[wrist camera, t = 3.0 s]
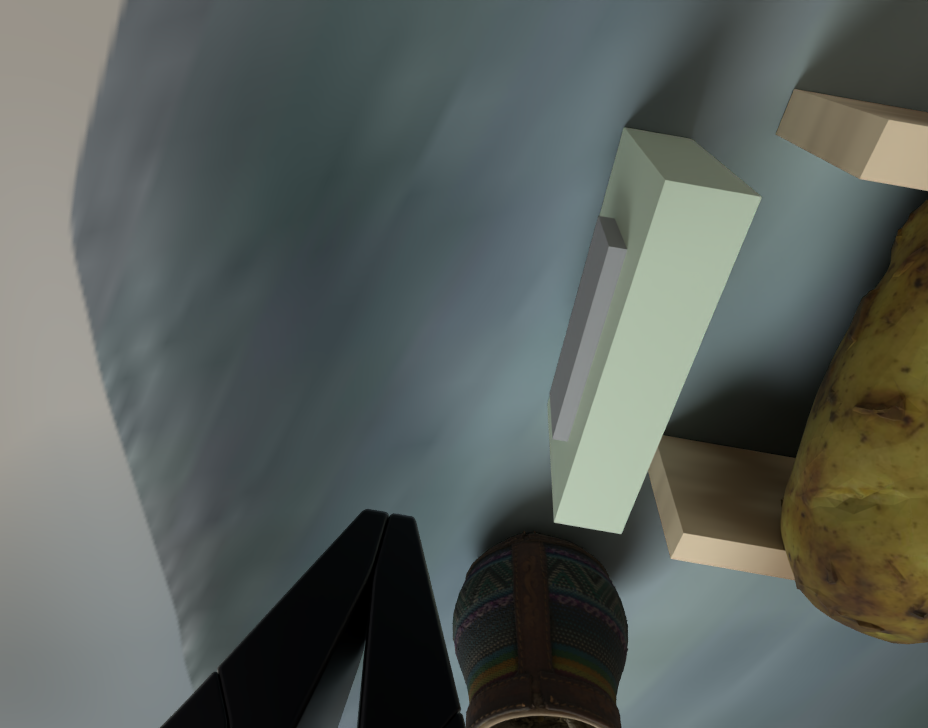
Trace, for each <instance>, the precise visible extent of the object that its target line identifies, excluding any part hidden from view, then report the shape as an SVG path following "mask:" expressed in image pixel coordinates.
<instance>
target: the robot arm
mask: <svg viewBox="0 0 928 728" xmlns="http://www.w3.org/2000/svg"><path fill="white" fill-rule="evenodd" d="M364 647H365V650H364ZM363 651H364V660H363V670H362V680H361V691H360V701H359V711H358V722H357V728H466V727H465V722H464V718H463V715H462V714H461V713H460V711H461V707H460V703H459V698H458V694H457V690H456V686H455V682H454V678H453V673H452V669H451V665H450V661H449V657H448V653H447V648H446V644H445V640H444V636H443V632H442V627H441V623H440V619H439V615H438V611H437V607H436V602H435V598H434V594H433V590H432V586H431V581H430V577H429V573H428V569H427V565H426V561H425V556H424V552H423V548H422V544H421V540H420V536H419V531H418V527H417V523H416V520H415V518H414V517H412V516H406V515H400V514H391V515H390V517H389V514H388V513H387V512H383V511H377V510H371V509H366V510H363V511H362V512H361V513H360V514H359V515H358V516H357V517H356V519H355V520H354V521H353V522H352V523H351V524H350V525H349V526H348V527H347V528H346V529H345V530H344V531H343V533H342V534H341V535H340V536H339V537H338V538H337V539H336V540H335V541H334V542H333V543H332V544H331V546H330V547H329V548H328V549H327V550H326V551H325V552H324V553H323V554H322V555H321V556H320V557H319V558H318V560H317V561H316V562H315V563H314V564H313V565H312V566H311V567H310V568H309V569H308V570H307V571H306V573H305V574H304V575H303V576H302V577H301V578H300V579H299V580H298V581H297V582H296V583H295V584H294V585H293V587H292V588H291V589H290V590H289V591H288V592H287V593H286V594H285V595H284V596H283V597H282V598H281V600H280V601H279V602H278V603H277V604H276V605H275V606H274V607H273V608H272V609H271V610H270V611H269V613H268V614H267V615H266V616H265V617H264V618H263V619H262V620H261V621H260V622H259V623H258V624H257V625H256V627H255V628H254V629H253V630H252V631H251V632H250V633H249V634H248V635H247V636H246V637H245V638H244V640H243V641H242V642H241V643H240V644H239V645H238V646H237V647H236V648H235V649H234V650H233V651H232V652H231V654H230V655H229V656H228V657H227V658H226V659H225V660H224V661H223V662H222V663H221V664H220V665H219V667H218V668H217V672H218V673H217V672H213V673H212V674H211V675H210V676H209V677H208V678H207V679H206V680H205V681H204V682H203V684H202V685H201V686H200V687H199V688H198V689H197V690H196V691H195V692H194V693H193V694H192V695H191V696H190V698H189V699H187V701H186V702H185V703H184V704H183V705H182V706H181V707H180V708H179V709H178V710H177V711H176V712H175V713H174V714H173V715H172V716H171V717H170V718H169V719H168V720H167V721H166V722H165V723H164V724H163V725H162V726H161V727H160V728H338V725H339V722H340V719H341V716H342V713H343V710H344V707H345V704H346V702H347V699H348V696H349V693H350V690H351V687H352V684H353V681H354V678H355V675H356V672H357V669H358V666H359V663H360V660H361V657H362V654H363Z"/></svg>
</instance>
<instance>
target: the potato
mask: <svg viewBox="0 0 928 728" xmlns="http://www.w3.org/2000/svg"><path fill="white" fill-rule="evenodd" d="M781 507H782V511H781V521H780V531H781V537H782V540H783V544H784V547H785V550H786V554H787V558H788V561H789V564H790V567H791V569H792V572H793V575H794V578H795V582H796V586H797V589H800V590H801V591H802V593H803V594H804V595H805V596H806V597H807V598H808V599H809V601H810V602H811V603H812V604H813V605H814V606H815V607H816V608H818V609H819V610H820V611H822V612H823V613H825V614H826V615H827V616H829V617H830V618H832V619H834V620H836V621H838V622H840V623H841V624H843V625H846V626H848V627H850V628H852V629H854V630H857V631H859V632H861V633H864V634H866V635H869V636H872V637H875V638H878V639H881V640H884V641H888V642H891V643H900V644H915V643H924V642H928V199H927V200H926V201H925V202H924V203H923V204H922V205H921V206H920V207H919V208H917V209H916V210H915V211H913V212H912V213H911V214H910V215H909V218H908V220H907V222H906V223H905V224H904V226H903V227H902V228H901V229H899V230H898V233H897V236H896V239H895V241H894V243H893V246H892V248H891V263H890V266H889V268H888V270H887V272H886V273H885V275H884V276H883V278H882V279H881V281H880V282H879V283H878V285H877V286H876V288H875V289H874V290H871V291H869V292H868V294H867V295H866V296H864V297H863V298H862V300H861V302H860V304H859V306H858V308H857V310H856V313H855V315H854V317H853V320H852V323H851V325H850V327H849V328H848V330H847V332H846V334H845V336H844V337H843V339H842V341H841V343H840V345H839V347H838V349H837V351H836V353H835V355H834V357H833V359H832V361H831V363H830V365H829V367H828V370H827V372H826V374H825V376H824V378H823V380H822V383H821V385H820V387H819V389H818V392H817V394H816V397H815V400H814V403H813V406H812V409H811V411H810V414H809V417H808V421H807V424H806V427H805V430H804V434H803V437H802V440H801V443H800V446H799V449H798V453H797V456H796V459H795V462H794V466H793V469H792V472H791V474H790V477H789V480H788V483H787V485H786V489H785V494H784V497H783V500H782V499H781Z"/></svg>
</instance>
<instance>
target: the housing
mask: <svg viewBox="0 0 928 728" xmlns="http://www.w3.org/2000/svg"><path fill="white" fill-rule="evenodd" d="M776 135H778V136H780V137H781V138H783V139H785V140H787V141H789V142H791V143H793V144H795V145H797V146H798V147H800V148H802V149H804V150H806V151H808V152H810V153H812V154H813V155H815V156H817V157H819V158H821V159H823V160H825V161H827V162H828V163H830V164H832V165H834V166H836V167H838V168H840V169H842V170H844V171H845V172H847V173H849V174H851V175H853V176H855V177H857V178H859V179H863V180H868V181H874V182H880V183H885V184H891V185H897V186H903V187H908V188H914V189H920V190H925V191H928V112H923V111H917V110H911V109H906V108H900V107H894V106H889V105H883V104H877V103H872V102H866V101H860V100H854V99H849V98H843V97H837V96H832V95H826V94H820V93H815V92H809V91H803V90H797V89H794V91H793V93H792V95H791V98H790V100H789V103H788V105H787V108H786V110H785V113H784V115H783V118H782V120H781V122H780V125H779V127H778V130H777V132H776ZM795 459H796V458H791V457H785V456H780V455H774V454H768V453H762V452H757V451H751V450H745V449H739V448H734V447H728V446H722V445H716V444H711V443H705V442H699V441H693V440H688V439H682V438H676V437H670V436H665V435H662V438H661V440H660V443H659V445H658V447H657V450H656V452H655V455H654V457H653V459H652V462H651V464H650V467H649V469H648V473H649V477H650V481H651V485H652V489H653V492H654V496H655V500H656V504H657V508H658V512H659V515H660V519H661V523H662V527H663V531H664V535H665V539H666V542H667V546H668V550H669V554H670V558H671V559H675V560H681V561H687V562H693V563H698V564H704V565H710V566H716V567H721V568H727V569H733V570H739V571H745V572H750V573H756V574H762V575H768V576H773V577H779V578H785V579H791V580H795V578H794V575H793V572H792V569H791V567H790V564H789V561H788V558H787V554H786V550H785V547H784V544H783V540H782V537H781V531H780V521H781V511H782V507H781V499H782V500H783V497H784V494H785V489H786V485H787V483H788V480H789V477H790V474H791V472H792V469H793V466H794V462H795Z"/></svg>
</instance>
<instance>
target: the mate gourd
mask: <svg viewBox="0 0 928 728" xmlns="http://www.w3.org/2000/svg"><path fill="white" fill-rule="evenodd" d="M465 579H466V580H465V582H464V584H463V587H462V589H461V591H460V593H459V596H458V599H457V603H456V605H455V610H454V615H453V640H454V644H455V653H456V656H457V659H458V662H459V664H460V667H461V671H462V673H463V676H464V679H465V683H466V685H467V689H468V695H469V707H468V710H467V712H466V728H621V723H620V714H619V710H618V708H617V706H616V695H617V690H618V685H619V681H620V679H621V675H622V672H623V670H624V666H625V662H626V655H627V651H628V648H627V645H628V624H627V620H626V616H625V611H624V608H623V605H622V601H621V599H620V597H619V595H618V592H617V591H616V589H615V586H614V585H613V584H612V581H611V580H610V578H609V575H608V573H607V571H606V569H605V568H604V567H603V566H602V564H601V563H600V562H599V561H598V560H597V559H596V558H595V557H593V556H592V555H591V554H590V553H588V552H587V551H585V550H584V549H583V548H581V547H579V546H577V545H575V544H573V543H571V542H568V541H566V540H563V539H559V538H555V537H551V536H549V535H548V536H546V535H542V534H536V532H535V531H534V533H529V534H528V535H526V532H525V531H524V532H523V533H522V534H519V535H516V536H513V537H511V538H509V539H507V540H505V541H503V542H501V543H499V544H497V545H495V546H494V547H492V548H490V549H489V550H488V551H486V552H485V553H484V554H483V555H482V556H480V557H479V558H478V559H477V560H476V561H475V562H473V564H472V565H471V567H470V568H469V570H468V572H467V574H466V578H465Z"/></svg>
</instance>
